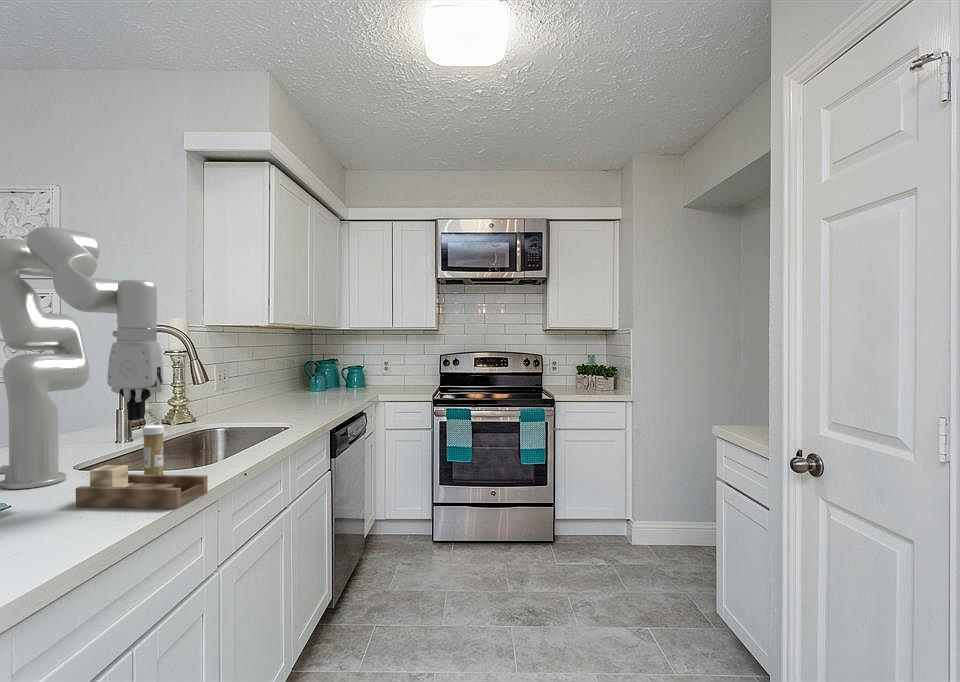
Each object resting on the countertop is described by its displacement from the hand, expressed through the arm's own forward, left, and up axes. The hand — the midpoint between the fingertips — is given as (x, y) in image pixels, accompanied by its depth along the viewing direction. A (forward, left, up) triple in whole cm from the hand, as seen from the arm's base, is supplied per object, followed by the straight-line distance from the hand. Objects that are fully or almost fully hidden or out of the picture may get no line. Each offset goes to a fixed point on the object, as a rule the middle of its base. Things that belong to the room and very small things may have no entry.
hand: (136, 419), depth 124 cm
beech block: (-6, 0, -15) cm, 16 cm away
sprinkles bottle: (-7, +17, -18) cm, 26 cm away
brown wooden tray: (+2, 0, -18) cm, 18 cm away
